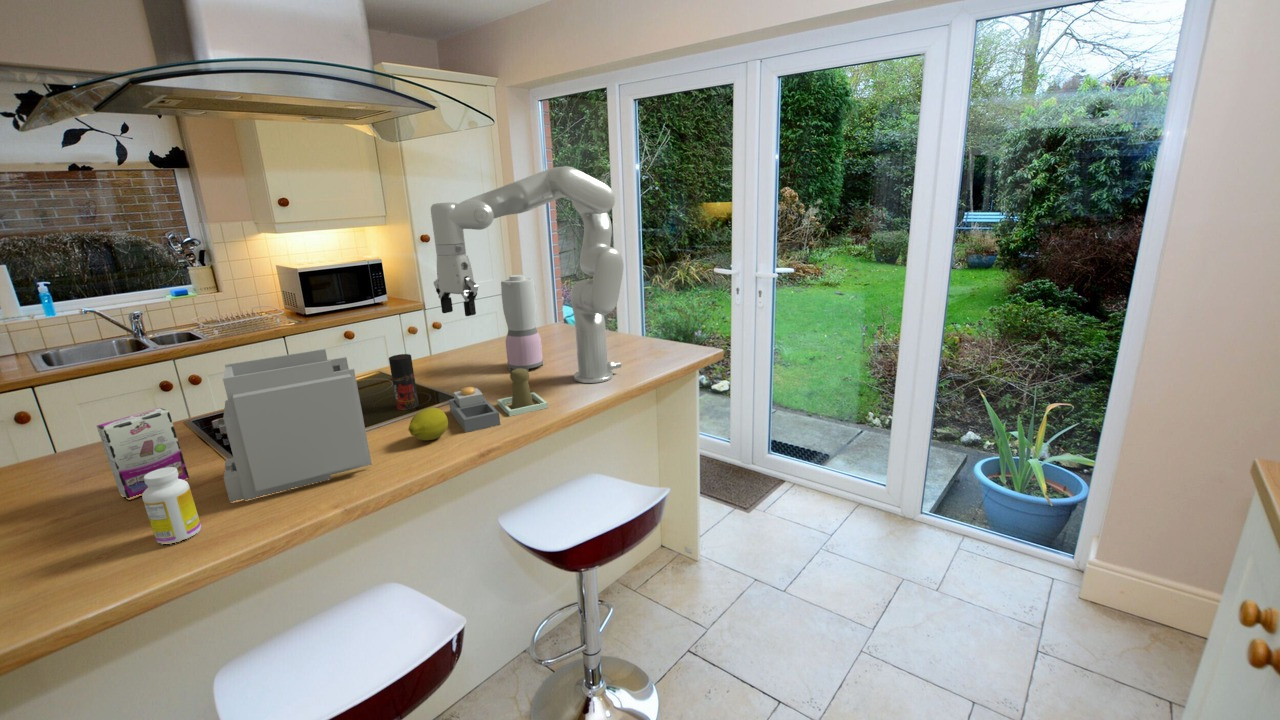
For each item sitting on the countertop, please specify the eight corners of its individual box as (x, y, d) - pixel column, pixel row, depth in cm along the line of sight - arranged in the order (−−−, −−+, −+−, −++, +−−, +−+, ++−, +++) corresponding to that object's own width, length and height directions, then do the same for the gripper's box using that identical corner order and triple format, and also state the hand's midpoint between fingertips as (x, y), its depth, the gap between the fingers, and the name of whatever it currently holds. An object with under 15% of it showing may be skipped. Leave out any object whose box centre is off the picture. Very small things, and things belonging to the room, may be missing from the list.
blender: (530, 374, 194) (520, 279, 185) (500, 370, 199) (490, 278, 190) (555, 361, 208) (547, 272, 199) (527, 358, 213) (518, 271, 204)
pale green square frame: (534, 396, 172) (534, 392, 171) (548, 407, 163) (547, 402, 162) (497, 404, 167) (497, 399, 166) (509, 416, 157) (509, 411, 157)
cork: (535, 402, 167) (532, 366, 164) (530, 410, 161) (526, 372, 158) (515, 402, 168) (511, 366, 165) (509, 410, 162) (505, 372, 159)
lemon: (440, 428, 151) (436, 400, 149) (458, 435, 146) (454, 405, 144) (402, 443, 143) (397, 413, 141) (419, 450, 138) (414, 419, 136)
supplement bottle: (199, 521, 111) (181, 460, 107) (204, 535, 106) (186, 472, 102) (154, 536, 106) (135, 473, 103) (158, 551, 102) (137, 485, 98)
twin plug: (479, 407, 165) (476, 383, 163) (485, 414, 159) (482, 389, 157) (456, 412, 162) (453, 388, 160) (461, 419, 156) (458, 394, 154)
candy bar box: (180, 474, 131) (161, 406, 126) (190, 479, 128) (170, 410, 124) (118, 496, 122) (94, 424, 117) (127, 502, 119) (103, 428, 115)
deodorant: (392, 408, 167) (384, 359, 163) (407, 401, 172) (399, 353, 168) (408, 410, 165) (400, 360, 160) (423, 403, 170) (415, 354, 166)
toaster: (232, 478, 128) (202, 365, 121) (362, 446, 142) (342, 343, 135) (230, 510, 114) (196, 386, 107) (374, 472, 128) (353, 359, 121)
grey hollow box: (450, 411, 163) (448, 399, 162) (482, 405, 167) (480, 393, 166) (465, 432, 148) (464, 419, 147) (500, 424, 152) (498, 412, 151)
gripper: (483, 250, 152) (490, 314, 157) (442, 248, 161) (450, 308, 166) (460, 253, 146) (468, 319, 151) (418, 251, 156) (427, 313, 160)
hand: (458, 313), depth 158 cm, fingers open, 9 cm apart
